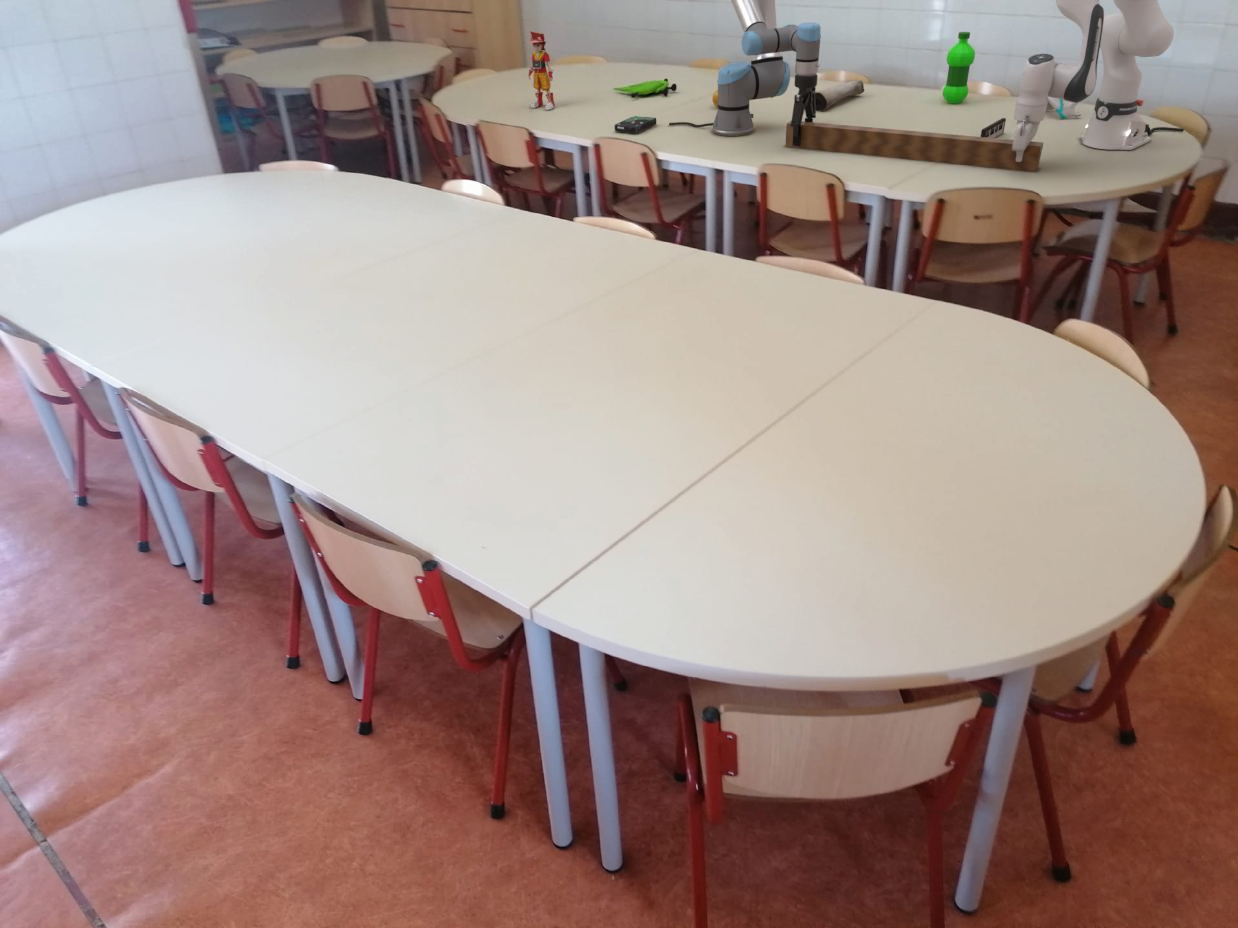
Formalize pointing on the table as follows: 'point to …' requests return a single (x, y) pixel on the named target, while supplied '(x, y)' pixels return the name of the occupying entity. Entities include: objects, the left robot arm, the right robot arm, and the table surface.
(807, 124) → the bar
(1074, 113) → the anatomical model
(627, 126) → the disk drive
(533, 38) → the toy
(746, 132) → the left robot arm
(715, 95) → the fruit
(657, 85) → the toy
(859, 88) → the rolled mat
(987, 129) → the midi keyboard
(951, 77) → the plastic bottle
